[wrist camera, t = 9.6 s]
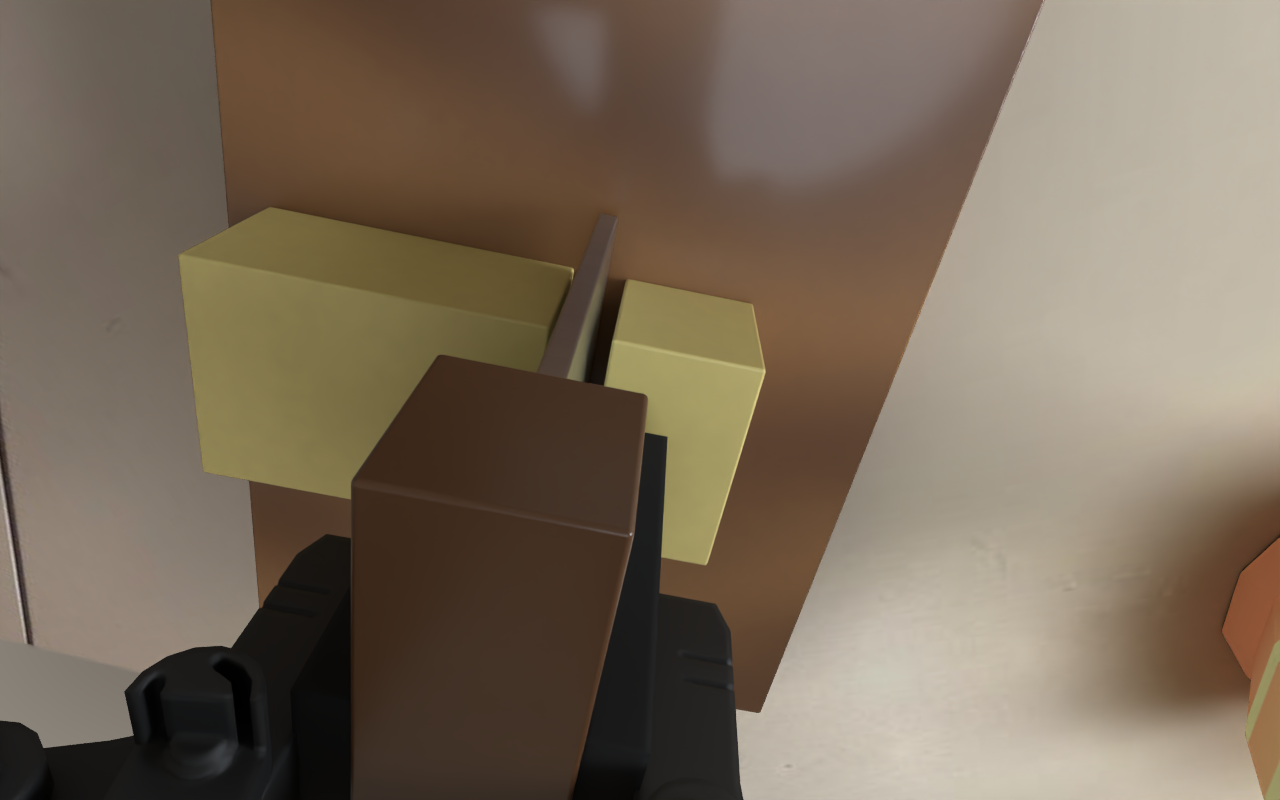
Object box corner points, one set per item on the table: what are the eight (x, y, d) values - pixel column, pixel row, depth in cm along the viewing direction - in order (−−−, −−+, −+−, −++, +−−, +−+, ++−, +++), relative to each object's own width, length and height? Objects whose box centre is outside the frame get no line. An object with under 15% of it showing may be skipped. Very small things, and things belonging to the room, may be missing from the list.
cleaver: (557, 179, 16) (348, 480, 6) (668, 202, 16) (635, 533, 6) (512, 515, 20) (348, 999, 10) (600, 531, 20) (518, 1027, 11)
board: (231, -270, 14) (185, -295, 13) (1049, -86, 15) (1083, -93, 13) (282, 590, 25) (259, 624, 23) (756, 676, 25) (760, 714, 24)
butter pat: (626, 277, 17) (611, 340, 14) (753, 303, 17) (767, 370, 14) (592, 456, 20) (574, 542, 17) (704, 477, 20) (706, 567, 17)
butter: (269, 205, 17) (175, 253, 14) (574, 267, 17) (549, 327, 14) (279, 396, 19) (202, 472, 16) (547, 447, 20) (520, 532, 17)
